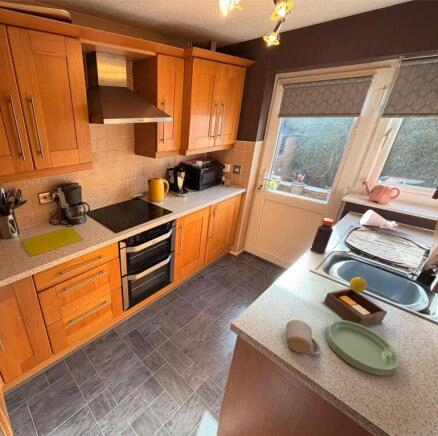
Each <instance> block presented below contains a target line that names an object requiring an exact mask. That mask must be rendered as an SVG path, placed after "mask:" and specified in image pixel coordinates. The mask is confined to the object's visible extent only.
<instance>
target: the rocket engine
mask: <svg viewBox="0 0 438 436" xmlns="http://www.w3.org/2000/svg"><path fill="white" fill-rule="evenodd" d="M359 224H360V225H363V226H370V227H377V228H380V229H387V230H391V231H394V232H395V231H396V228H395V227H398V225H399V224H397V223H396V221H395V220H393V221H387V220H386V218H384V217H382V216H381V215H380V214H378V213H377V212H375V211H374V210H372V209H368V210H367V211H366V212H364V214H363V215H362V217H361V218H360V221H359Z"/></svg>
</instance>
